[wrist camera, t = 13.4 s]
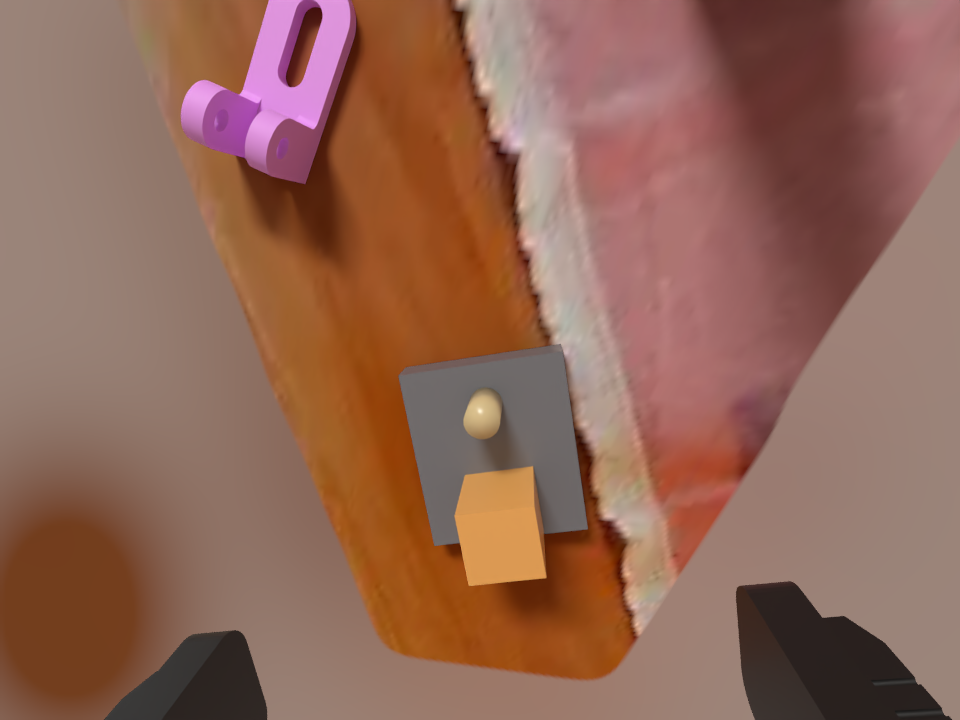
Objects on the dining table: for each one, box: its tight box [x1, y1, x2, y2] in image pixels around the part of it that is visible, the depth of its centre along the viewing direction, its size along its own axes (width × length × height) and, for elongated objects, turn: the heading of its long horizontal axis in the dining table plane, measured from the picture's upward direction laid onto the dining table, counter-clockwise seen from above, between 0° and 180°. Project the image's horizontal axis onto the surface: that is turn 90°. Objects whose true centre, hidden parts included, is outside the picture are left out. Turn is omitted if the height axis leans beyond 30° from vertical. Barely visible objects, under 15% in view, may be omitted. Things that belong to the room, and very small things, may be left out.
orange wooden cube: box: [455, 466, 546, 586], centre depth 37 cm, size 5×5×6 cm
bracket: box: [181, 0, 356, 184], centre depth 34 cm, size 13×6×7 cm, turn 156°
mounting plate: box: [399, 344, 588, 546], centre depth 39 cm, size 12×14×6 cm
